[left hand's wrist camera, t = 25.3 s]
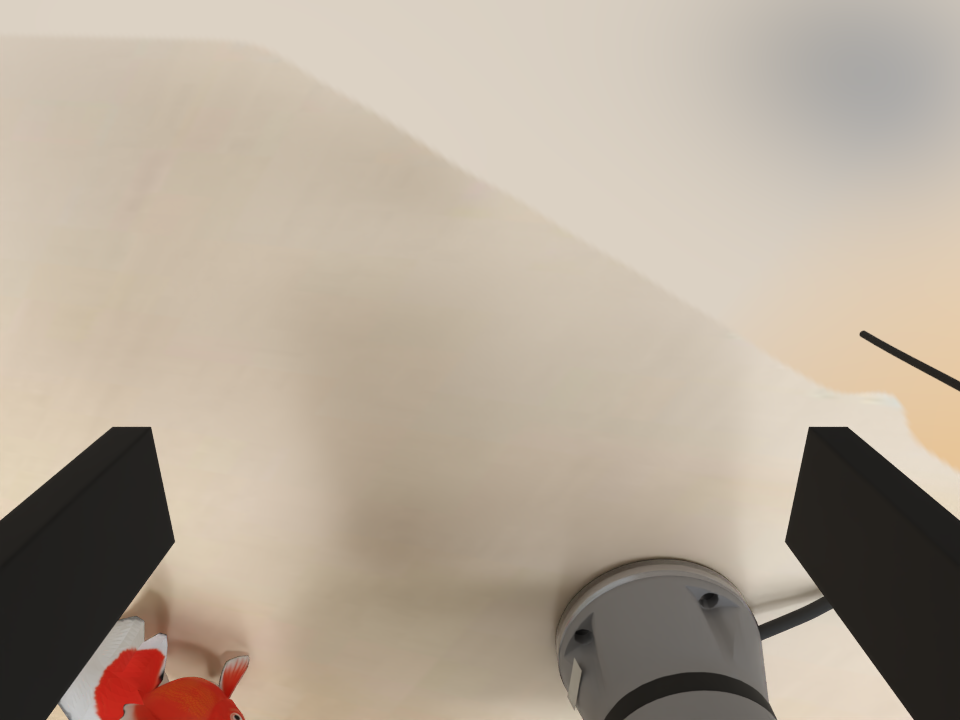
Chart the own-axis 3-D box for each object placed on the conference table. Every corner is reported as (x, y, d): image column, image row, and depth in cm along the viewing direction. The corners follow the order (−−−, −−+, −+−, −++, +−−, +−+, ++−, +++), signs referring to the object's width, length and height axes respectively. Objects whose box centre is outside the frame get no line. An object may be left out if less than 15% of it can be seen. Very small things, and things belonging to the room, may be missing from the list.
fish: (199, 803, 49) (112, 884, 39) (80, 652, 52) (-28, 692, 42) (295, 698, 50) (233, 752, 40) (172, 555, 53) (87, 573, 43)
